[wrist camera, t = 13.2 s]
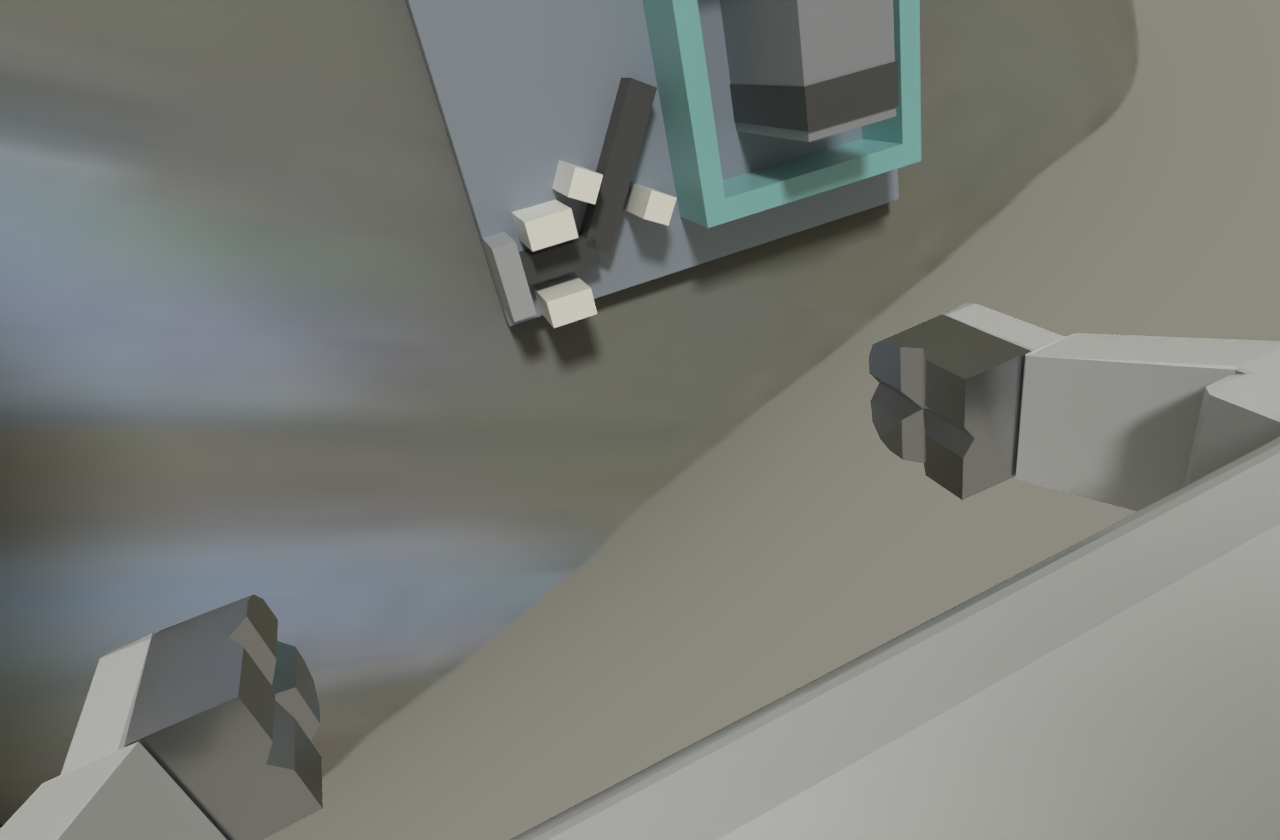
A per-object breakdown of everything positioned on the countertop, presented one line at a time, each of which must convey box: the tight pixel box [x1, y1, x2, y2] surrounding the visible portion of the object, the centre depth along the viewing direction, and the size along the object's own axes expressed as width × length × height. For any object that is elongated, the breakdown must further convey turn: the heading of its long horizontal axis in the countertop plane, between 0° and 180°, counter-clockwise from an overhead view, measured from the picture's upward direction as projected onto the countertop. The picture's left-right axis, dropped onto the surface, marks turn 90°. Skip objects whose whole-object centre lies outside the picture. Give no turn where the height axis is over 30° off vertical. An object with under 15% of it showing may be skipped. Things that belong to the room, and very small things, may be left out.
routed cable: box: [519, 78, 657, 286], centre depth 32 cm, size 4×10×1 cm, turn 142°
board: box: [405, 0, 899, 328], centre depth 31 cm, size 15×21×4 cm
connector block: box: [720, 0, 899, 142], centre depth 30 cm, size 6×4×6 cm
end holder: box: [642, 0, 921, 228], centre depth 31 cm, size 12×11×3 cm
